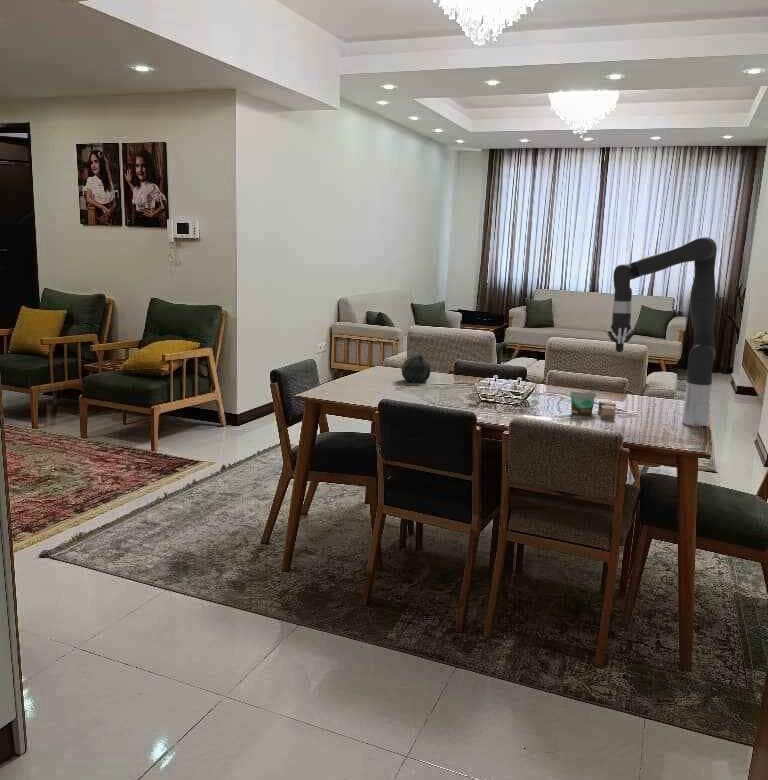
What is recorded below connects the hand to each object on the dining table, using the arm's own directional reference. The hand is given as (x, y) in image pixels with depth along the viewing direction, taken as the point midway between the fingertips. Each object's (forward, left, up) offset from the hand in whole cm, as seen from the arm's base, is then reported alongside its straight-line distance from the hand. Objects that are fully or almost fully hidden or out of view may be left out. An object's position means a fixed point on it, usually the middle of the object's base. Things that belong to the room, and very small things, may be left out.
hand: (619, 352), depth 304 cm
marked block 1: (-4, +5, -27) cm, 27 cm away
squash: (+67, +78, -27) cm, 106 cm away
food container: (-5, +15, -27) cm, 31 cm away
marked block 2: (-12, +8, -27) cm, 30 cm away
